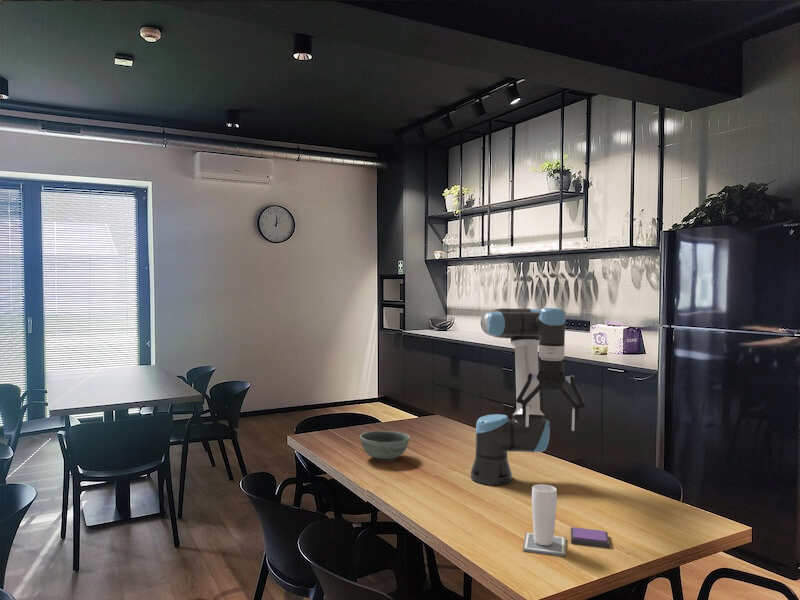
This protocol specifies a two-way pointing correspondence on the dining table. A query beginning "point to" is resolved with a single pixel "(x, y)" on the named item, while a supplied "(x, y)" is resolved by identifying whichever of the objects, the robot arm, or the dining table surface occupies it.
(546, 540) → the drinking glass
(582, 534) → the ink pad
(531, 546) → the plate
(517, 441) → the robot arm
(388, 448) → the bowl
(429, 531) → the dining table surface
